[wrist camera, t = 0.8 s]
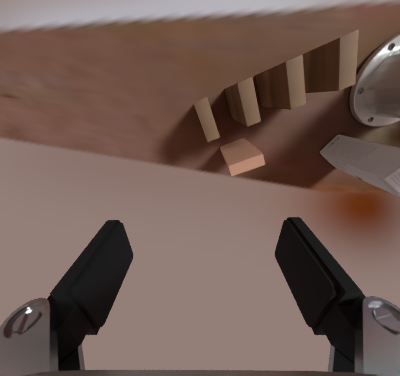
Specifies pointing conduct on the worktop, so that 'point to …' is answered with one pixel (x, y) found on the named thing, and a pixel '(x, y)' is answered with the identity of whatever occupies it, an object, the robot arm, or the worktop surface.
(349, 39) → the domino
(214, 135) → the domino
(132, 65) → the worktop surface
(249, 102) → the domino
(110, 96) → the worktop surface
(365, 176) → the skincare box
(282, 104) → the domino
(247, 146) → the end tile
